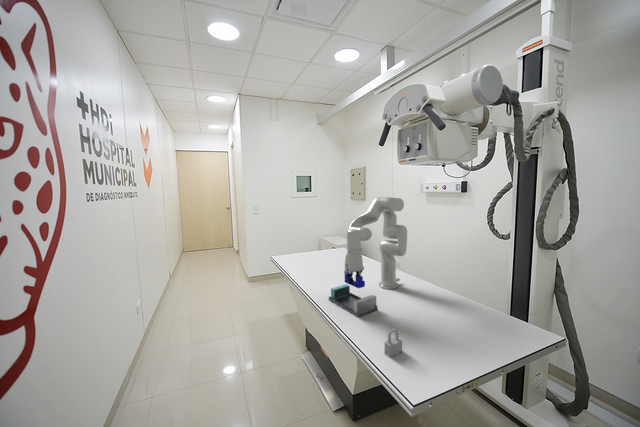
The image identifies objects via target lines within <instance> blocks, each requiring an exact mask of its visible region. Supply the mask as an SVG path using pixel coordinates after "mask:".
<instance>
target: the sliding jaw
mask: <svg viewBox="0 0 640 427" xmlns="http://www.w3.org/2000/svg"><path fill="white" fill-rule="evenodd" d="M350 288H351V285H350V284H348V283H344V284H342V285H339V286H336V287H335V286H334V287H332V288H330V297H332V298H334V299H337V298H340V297H344V296H347V295H350V293H351V291H350Z"/></svg>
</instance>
